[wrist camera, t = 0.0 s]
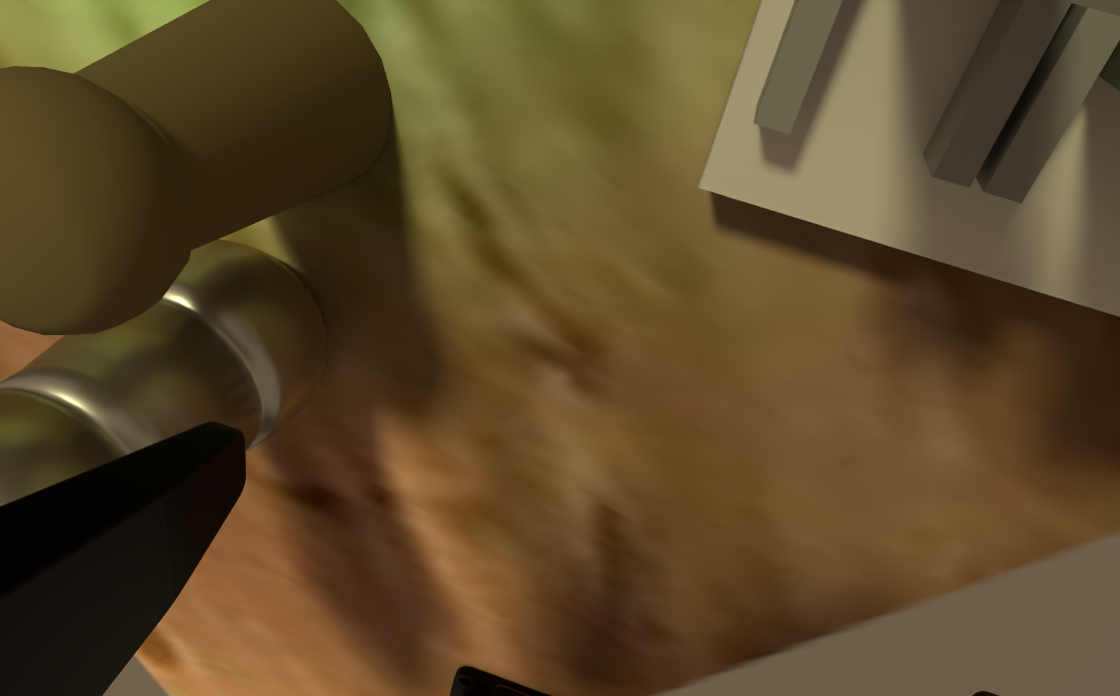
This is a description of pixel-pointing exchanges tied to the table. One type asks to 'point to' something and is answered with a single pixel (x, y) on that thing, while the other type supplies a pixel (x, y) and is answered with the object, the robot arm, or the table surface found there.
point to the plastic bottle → (167, 371)
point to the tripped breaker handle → (1112, 69)
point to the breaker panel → (937, 133)
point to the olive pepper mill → (175, 152)
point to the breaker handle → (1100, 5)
